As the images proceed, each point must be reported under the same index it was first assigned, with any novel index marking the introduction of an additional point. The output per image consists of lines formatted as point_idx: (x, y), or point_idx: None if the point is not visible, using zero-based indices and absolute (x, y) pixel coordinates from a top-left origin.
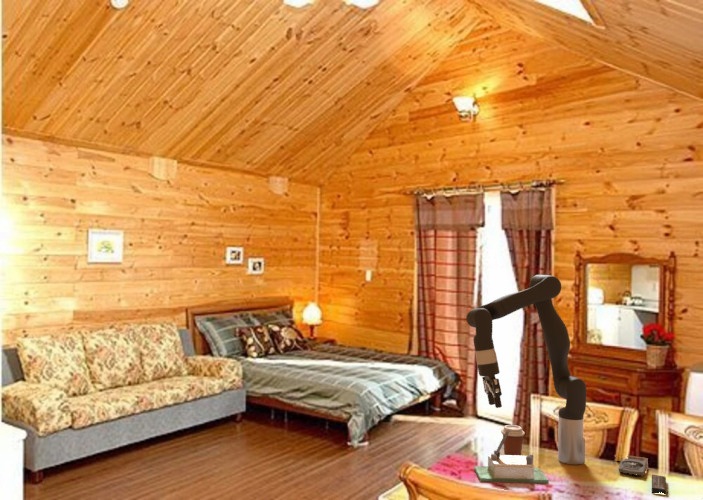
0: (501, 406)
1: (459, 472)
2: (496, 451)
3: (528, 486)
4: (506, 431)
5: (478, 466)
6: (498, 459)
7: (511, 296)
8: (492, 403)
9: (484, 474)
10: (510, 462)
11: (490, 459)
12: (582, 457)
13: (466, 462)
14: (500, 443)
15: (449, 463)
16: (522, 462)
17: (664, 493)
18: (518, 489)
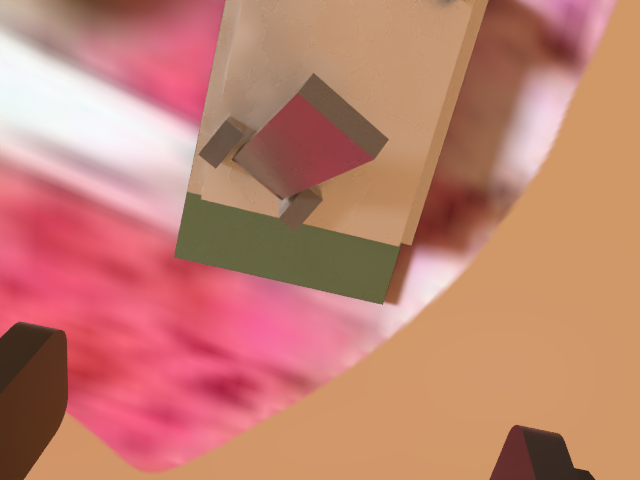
0: (556, 437)
1: (217, 353)
2: (297, 192)
3: (517, 48)
4: (373, 158)
5: (184, 234)
6: None
7: None
8: (54, 382)
9: (328, 257)
10: (399, 113)
11: (276, 214)
12: None
13: (44, 247)
14: (321, 181)
15: None
16: (420, 15)
17: None
18: (541, 135)
